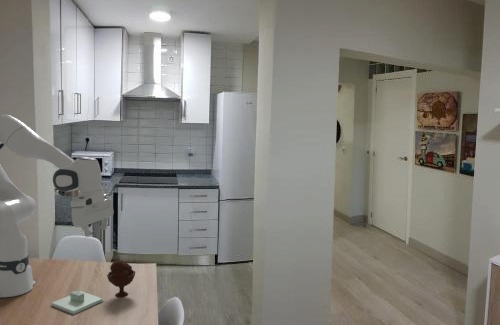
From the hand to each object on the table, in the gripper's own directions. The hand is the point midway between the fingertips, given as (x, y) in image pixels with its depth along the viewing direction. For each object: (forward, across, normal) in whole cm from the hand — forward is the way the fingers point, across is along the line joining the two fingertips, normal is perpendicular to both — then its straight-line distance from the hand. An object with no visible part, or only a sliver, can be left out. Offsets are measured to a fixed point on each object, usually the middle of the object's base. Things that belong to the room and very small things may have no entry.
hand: (96, 232), depth 164 cm
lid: (+26, +7, -8) cm, 28 cm away
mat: (+27, +7, -8) cm, 29 cm away
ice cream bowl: (+28, -6, +3) cm, 29 cm away
